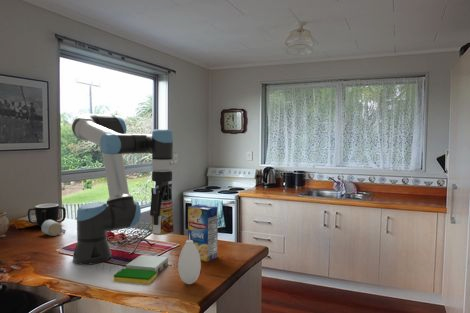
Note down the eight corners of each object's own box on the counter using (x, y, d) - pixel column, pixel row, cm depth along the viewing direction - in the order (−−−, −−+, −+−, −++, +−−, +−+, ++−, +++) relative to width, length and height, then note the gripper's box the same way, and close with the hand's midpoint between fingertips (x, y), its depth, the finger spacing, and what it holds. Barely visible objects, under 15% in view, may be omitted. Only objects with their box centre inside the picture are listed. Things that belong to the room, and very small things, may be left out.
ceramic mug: (49, 237, 181) (49, 223, 180) (41, 235, 185) (41, 220, 185) (68, 233, 189) (68, 219, 189) (60, 231, 194) (60, 217, 194)
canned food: (166, 235, 129) (165, 203, 129) (148, 234, 132) (146, 202, 131) (177, 229, 137) (175, 199, 136) (159, 229, 139) (157, 199, 139)
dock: (126, 272, 135) (126, 265, 135) (141, 262, 147) (140, 254, 147) (155, 275, 133) (155, 267, 132) (168, 264, 144) (168, 257, 144)
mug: (54, 221, 217) (53, 201, 216) (68, 225, 207) (68, 204, 207) (25, 226, 203) (25, 205, 203) (39, 230, 194) (39, 209, 193)
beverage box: (207, 261, 148) (207, 209, 146) (187, 256, 154) (187, 206, 153) (217, 257, 153) (217, 207, 152) (198, 252, 159) (198, 204, 158)
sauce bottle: (174, 285, 123) (174, 235, 123) (185, 277, 131) (185, 229, 130) (194, 289, 121) (194, 237, 120) (204, 280, 128) (204, 231, 127)
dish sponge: (149, 285, 125) (148, 278, 125) (113, 281, 128) (113, 275, 127) (157, 277, 132) (157, 270, 132) (122, 274, 135) (122, 268, 134)
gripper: (160, 174, 122) (159, 238, 124) (181, 168, 142) (180, 223, 144) (140, 173, 124) (139, 236, 125) (164, 167, 144) (163, 222, 145)
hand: (161, 229), depth 135 cm, fingers closed on canned food, 8 cm apart
